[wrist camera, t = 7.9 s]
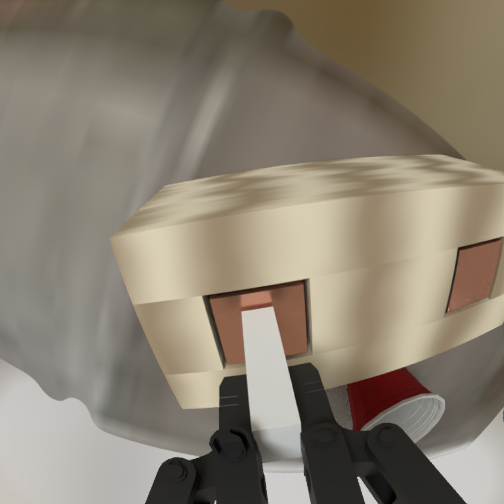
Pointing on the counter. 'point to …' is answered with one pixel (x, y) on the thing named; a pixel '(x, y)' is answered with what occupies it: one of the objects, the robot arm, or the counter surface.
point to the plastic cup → (394, 403)
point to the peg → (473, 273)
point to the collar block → (315, 262)
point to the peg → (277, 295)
